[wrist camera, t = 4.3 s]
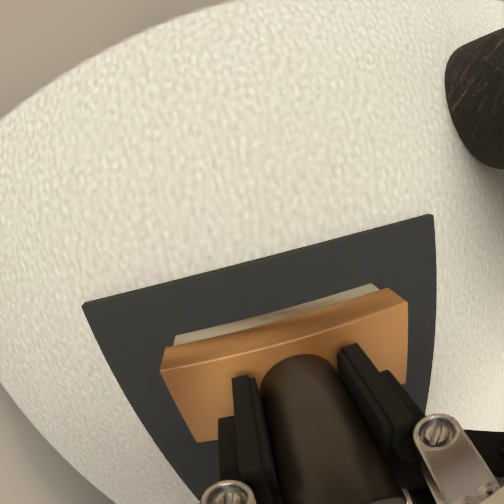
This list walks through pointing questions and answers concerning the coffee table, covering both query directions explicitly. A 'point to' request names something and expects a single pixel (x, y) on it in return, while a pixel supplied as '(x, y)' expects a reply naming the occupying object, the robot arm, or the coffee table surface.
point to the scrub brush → (300, 389)
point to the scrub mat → (254, 304)
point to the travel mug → (479, 96)
